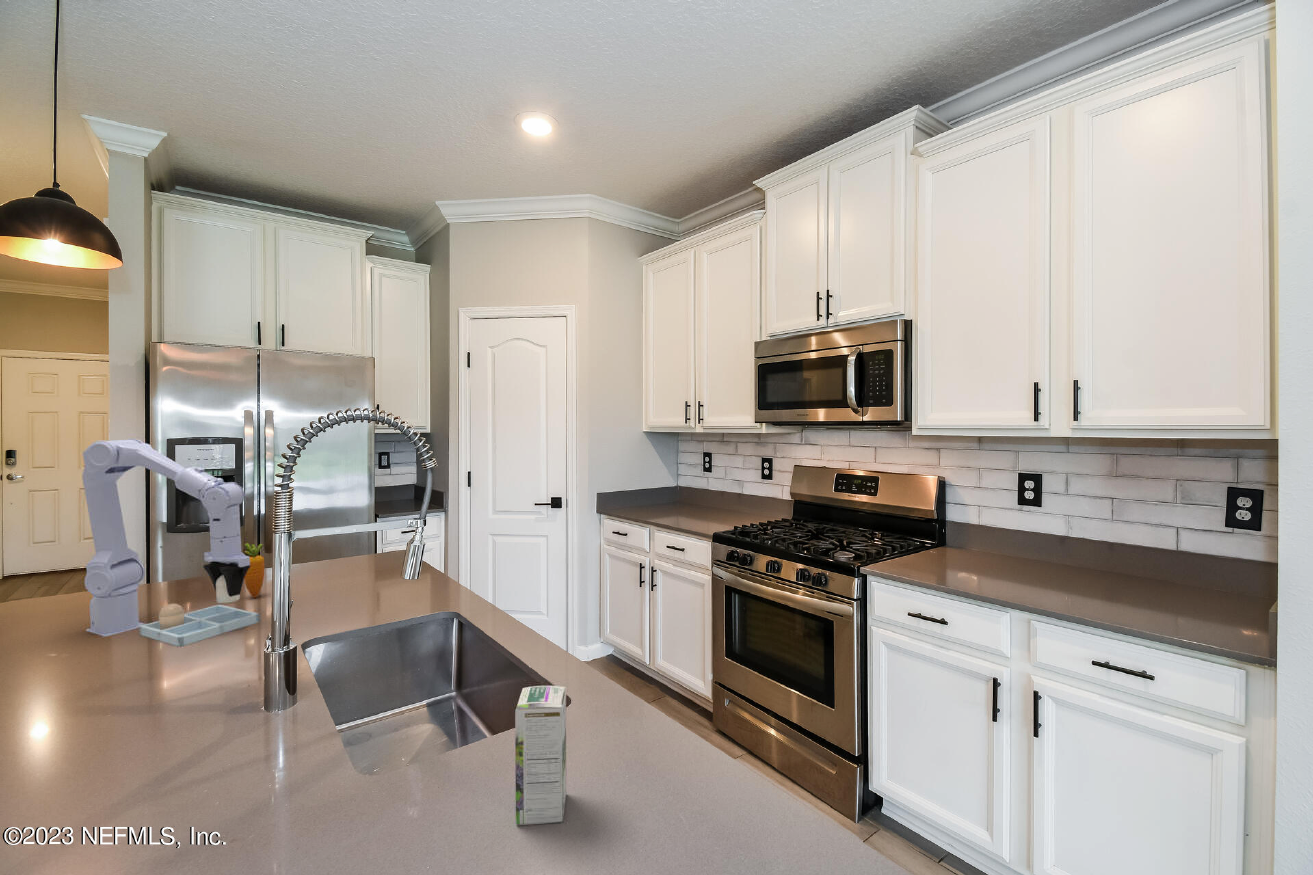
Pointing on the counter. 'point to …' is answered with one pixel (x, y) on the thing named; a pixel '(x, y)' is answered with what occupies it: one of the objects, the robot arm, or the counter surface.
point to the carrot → (254, 570)
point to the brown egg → (171, 616)
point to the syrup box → (540, 755)
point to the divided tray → (201, 625)
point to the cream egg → (224, 592)
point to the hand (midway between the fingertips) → (228, 593)
